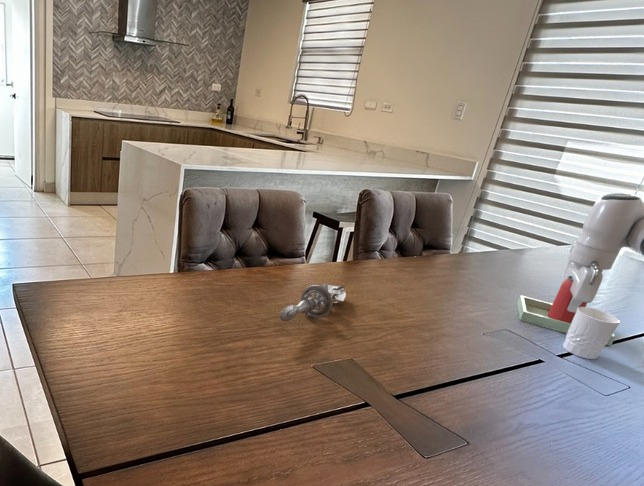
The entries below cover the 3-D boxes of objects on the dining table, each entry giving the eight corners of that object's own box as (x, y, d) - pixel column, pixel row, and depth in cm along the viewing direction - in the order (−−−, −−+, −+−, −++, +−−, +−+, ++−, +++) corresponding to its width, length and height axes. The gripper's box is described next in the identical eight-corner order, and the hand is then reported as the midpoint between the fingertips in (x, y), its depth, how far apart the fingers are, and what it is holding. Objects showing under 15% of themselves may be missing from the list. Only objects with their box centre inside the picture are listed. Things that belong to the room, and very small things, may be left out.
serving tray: (600, 325, 128) (604, 317, 126) (610, 346, 116) (615, 337, 115) (517, 303, 136) (520, 295, 135) (519, 320, 125) (523, 311, 124)
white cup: (596, 350, 113) (616, 314, 109) (603, 365, 107) (623, 326, 103) (557, 339, 116) (575, 303, 113) (561, 352, 110) (580, 314, 106)
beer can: (553, 323, 124) (572, 282, 119) (542, 313, 130) (560, 273, 125) (581, 329, 122) (601, 287, 118) (568, 318, 128) (588, 278, 124)
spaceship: (262, 298, 100) (296, 297, 95) (327, 275, 127) (356, 274, 122) (266, 335, 100) (300, 336, 95) (330, 304, 127) (359, 304, 122)
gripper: (616, 271, 109) (590, 324, 114) (599, 250, 126) (577, 297, 131) (583, 264, 112) (559, 315, 117) (571, 244, 128) (550, 290, 134)
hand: (568, 305), depth 124 cm, fingers closed on beer can, 6 cm apart
